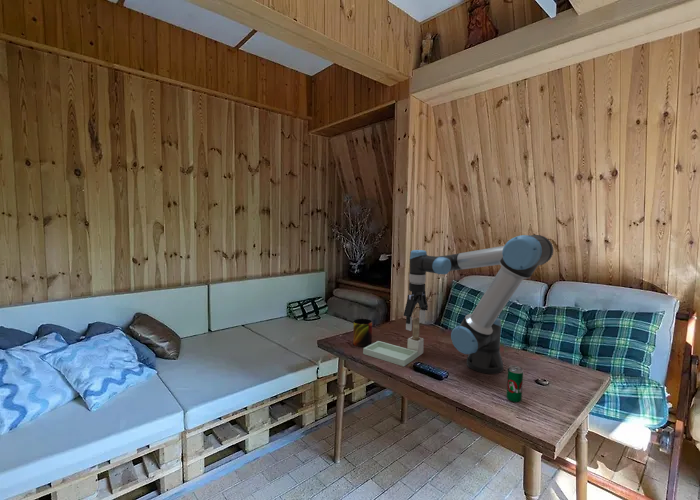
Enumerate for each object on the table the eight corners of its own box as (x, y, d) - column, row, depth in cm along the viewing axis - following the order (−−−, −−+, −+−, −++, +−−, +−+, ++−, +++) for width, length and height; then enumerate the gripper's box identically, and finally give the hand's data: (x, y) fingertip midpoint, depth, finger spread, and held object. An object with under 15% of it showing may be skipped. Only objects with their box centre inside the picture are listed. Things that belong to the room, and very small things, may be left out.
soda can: (517, 395, 127) (518, 364, 126) (524, 403, 122) (526, 370, 121) (503, 395, 127) (505, 364, 126) (510, 403, 122) (512, 370, 121)
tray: (417, 358, 160) (417, 351, 159) (403, 368, 149) (404, 360, 149) (378, 347, 173) (378, 340, 173) (363, 355, 163) (363, 348, 163)
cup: (423, 354, 165) (423, 338, 164) (417, 358, 160) (418, 341, 160) (412, 351, 168) (413, 335, 167) (407, 355, 164) (407, 339, 163)
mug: (359, 337, 188) (359, 315, 187) (375, 344, 177) (376, 322, 176) (345, 340, 183) (345, 318, 181) (360, 348, 171) (360, 325, 170)
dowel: (419, 353, 164) (420, 318, 163) (416, 355, 162) (417, 320, 160) (413, 351, 166) (414, 317, 165) (411, 353, 164) (411, 318, 162)
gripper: (421, 278, 173) (420, 318, 175) (396, 285, 153) (395, 331, 156) (435, 280, 168) (434, 321, 171) (411, 288, 149) (410, 335, 151)
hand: (415, 326), depth 163 cm, fingers open, 13 cm apart
